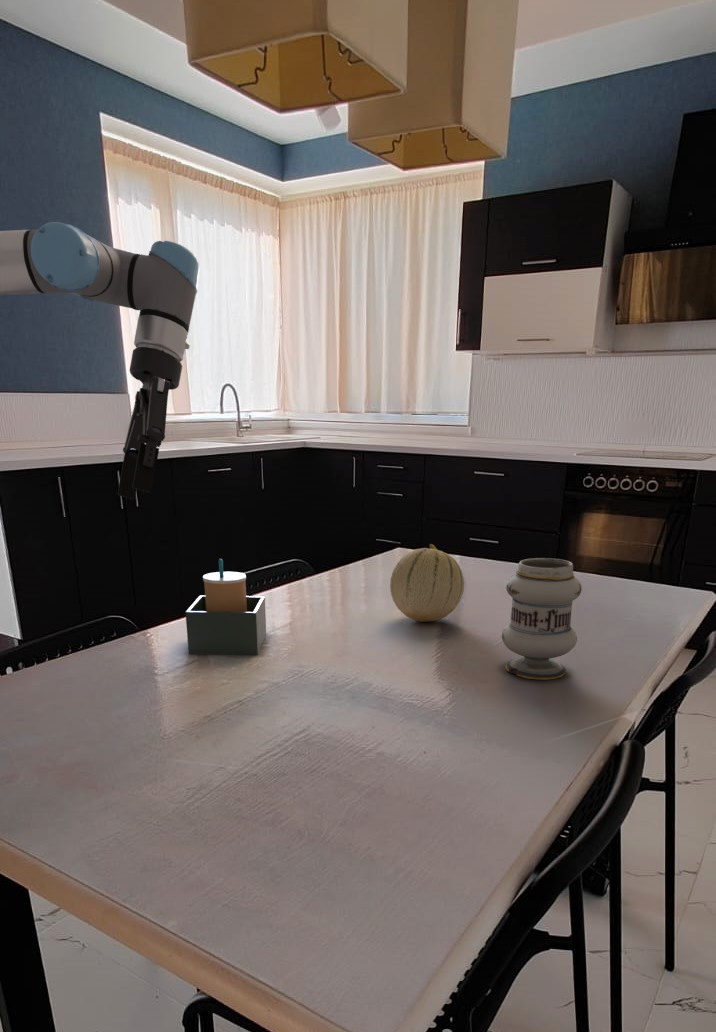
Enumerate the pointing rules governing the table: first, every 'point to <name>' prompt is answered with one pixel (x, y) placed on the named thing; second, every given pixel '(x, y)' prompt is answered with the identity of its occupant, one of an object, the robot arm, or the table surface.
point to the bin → (226, 628)
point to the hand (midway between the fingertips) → (133, 494)
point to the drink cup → (225, 591)
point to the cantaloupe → (427, 584)
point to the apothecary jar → (541, 617)
